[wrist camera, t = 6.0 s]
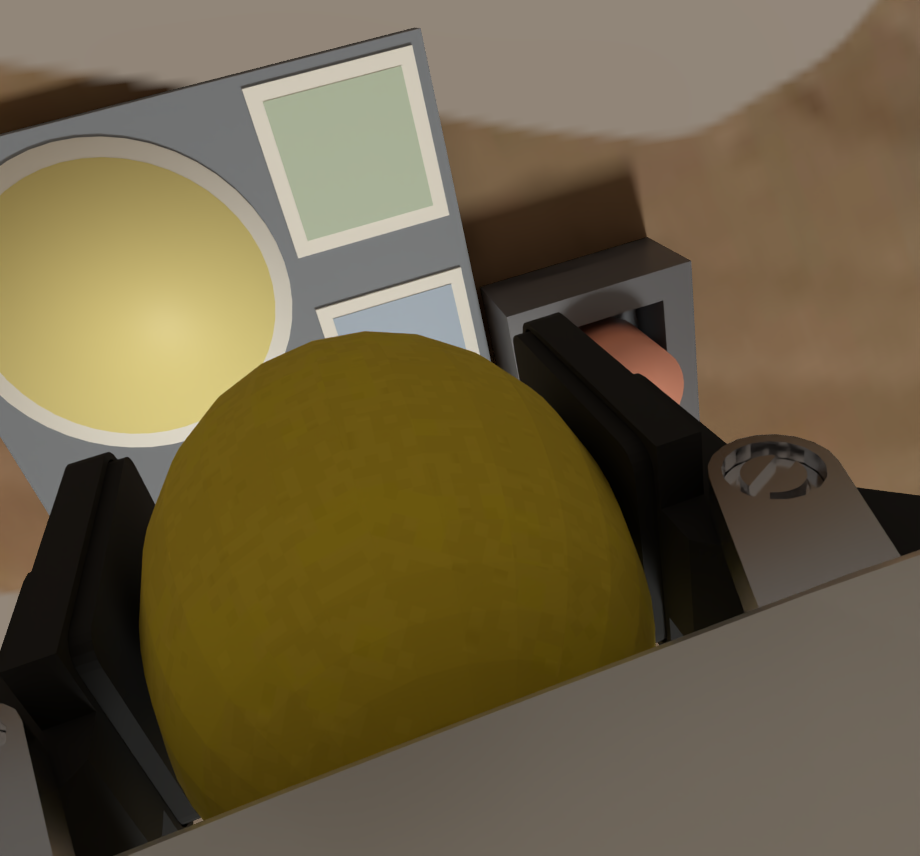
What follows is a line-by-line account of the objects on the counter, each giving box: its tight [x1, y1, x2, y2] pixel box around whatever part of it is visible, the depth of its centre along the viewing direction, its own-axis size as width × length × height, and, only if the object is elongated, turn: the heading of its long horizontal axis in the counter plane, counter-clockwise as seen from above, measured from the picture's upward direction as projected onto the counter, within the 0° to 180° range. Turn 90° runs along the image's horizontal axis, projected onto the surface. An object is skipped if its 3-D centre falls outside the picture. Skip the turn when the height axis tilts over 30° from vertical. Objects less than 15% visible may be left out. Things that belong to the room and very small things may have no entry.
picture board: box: [0, 28, 491, 515], centre depth 27 cm, size 18×14×1 cm
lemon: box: [139, 331, 656, 820], centre depth 9 cm, size 6×6×8 cm
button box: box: [480, 237, 700, 421], centre depth 31 cm, size 7×7×4 cm
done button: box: [578, 317, 684, 404], centre depth 29 cm, size 4×4×3 cm
